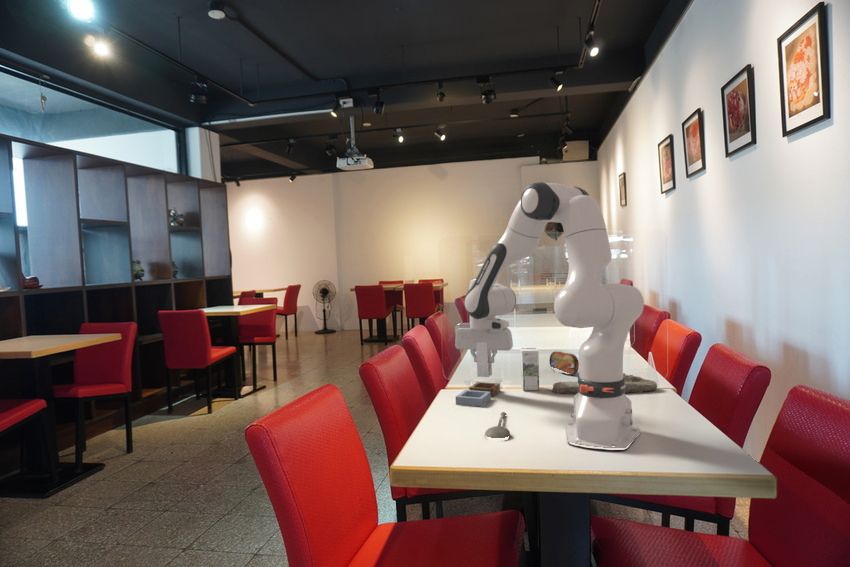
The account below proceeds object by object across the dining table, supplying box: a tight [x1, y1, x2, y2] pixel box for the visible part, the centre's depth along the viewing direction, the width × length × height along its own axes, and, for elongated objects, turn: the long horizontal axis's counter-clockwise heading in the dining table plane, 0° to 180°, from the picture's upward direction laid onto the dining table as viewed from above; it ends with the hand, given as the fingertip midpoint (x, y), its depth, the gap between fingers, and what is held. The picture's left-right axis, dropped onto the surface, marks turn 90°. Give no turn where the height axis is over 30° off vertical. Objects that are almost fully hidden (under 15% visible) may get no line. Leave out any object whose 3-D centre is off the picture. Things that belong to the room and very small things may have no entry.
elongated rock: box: [552, 372, 658, 394], centre depth 179 cm, size 35×5×10 cm
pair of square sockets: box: [455, 381, 501, 407], centre depth 176 cm, size 21×9×2 cm, turn 155°
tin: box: [549, 351, 579, 376], centre depth 207 cm, size 15×3×8 cm, turn 25°
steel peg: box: [475, 342, 493, 378], centre depth 181 cm, size 4×4×12 cm
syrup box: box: [520, 347, 540, 392], centre depth 184 cm, size 6×6×14 cm
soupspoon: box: [484, 411, 511, 438], centre depth 144 cm, size 22×3×7 cm
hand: (484, 362), depth 181 cm, fingers closed on steel peg, 4 cm apart
